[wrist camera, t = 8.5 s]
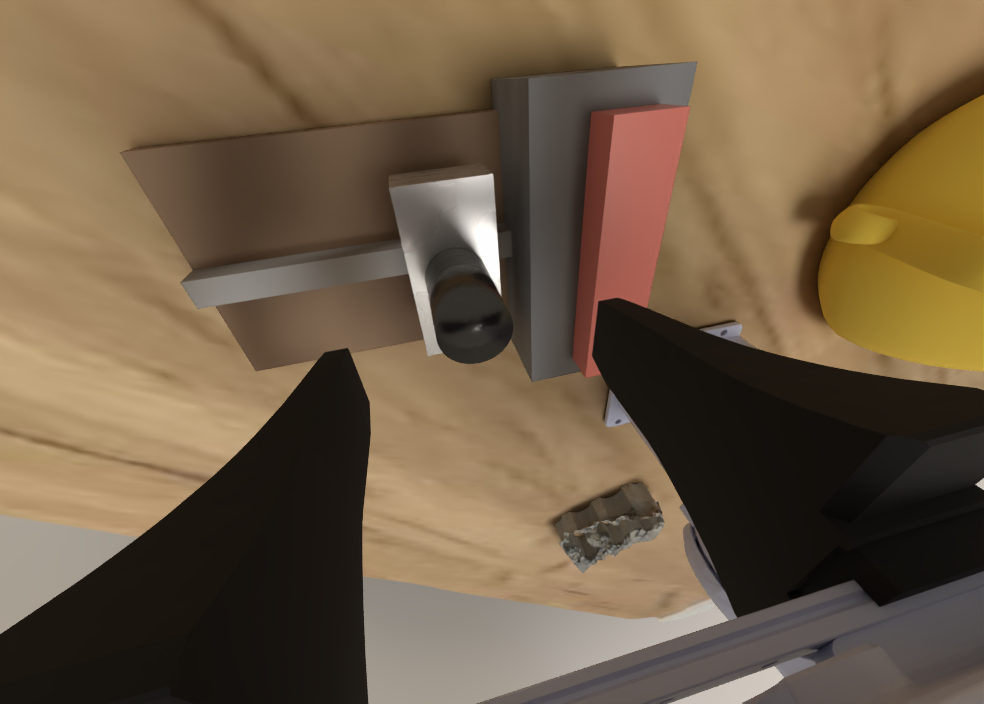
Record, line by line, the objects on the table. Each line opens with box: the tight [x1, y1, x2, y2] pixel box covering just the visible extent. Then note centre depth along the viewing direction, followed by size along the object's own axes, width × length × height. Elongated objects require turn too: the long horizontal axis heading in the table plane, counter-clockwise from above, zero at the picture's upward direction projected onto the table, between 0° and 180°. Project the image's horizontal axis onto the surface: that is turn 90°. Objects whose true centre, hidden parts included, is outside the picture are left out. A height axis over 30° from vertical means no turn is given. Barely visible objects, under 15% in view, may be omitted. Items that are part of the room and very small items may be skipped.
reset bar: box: [572, 104, 690, 378], centre depth 14 cm, size 2×10×2 cm, turn 4°
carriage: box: [389, 164, 513, 364], centre depth 14 cm, size 4×7×7 cm, turn 4°
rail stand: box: [120, 62, 697, 382], centre depth 16 cm, size 19×12×5 cm, turn 94°
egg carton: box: [555, 482, 664, 573], centre depth 37 cm, size 11×8×4 cm
